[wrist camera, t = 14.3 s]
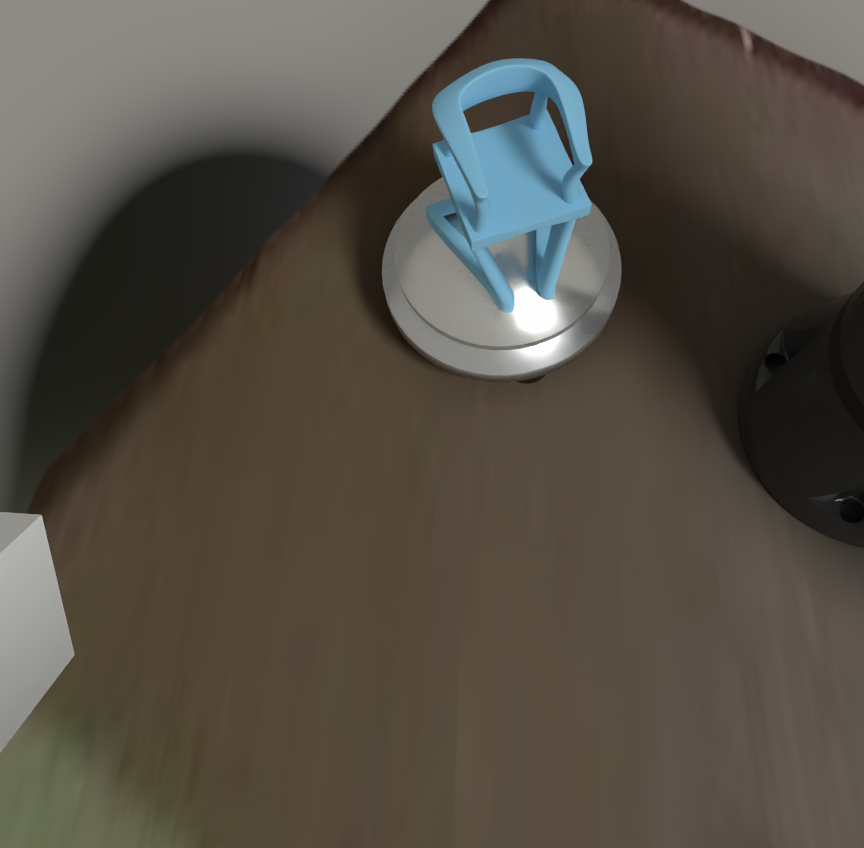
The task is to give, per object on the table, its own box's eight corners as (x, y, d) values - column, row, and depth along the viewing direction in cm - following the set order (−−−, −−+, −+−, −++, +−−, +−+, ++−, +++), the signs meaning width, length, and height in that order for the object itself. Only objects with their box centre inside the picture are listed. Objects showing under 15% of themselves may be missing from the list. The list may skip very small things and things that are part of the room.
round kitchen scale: (566, 172, 53) (574, 121, 48) (648, 355, 48) (666, 318, 43) (363, 231, 53) (351, 186, 48) (423, 423, 47) (417, 393, 43)
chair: (467, 327, 44) (463, 202, 33) (424, 213, 47) (407, 62, 35) (591, 288, 44) (629, 150, 33) (542, 177, 47) (561, 16, 36)
